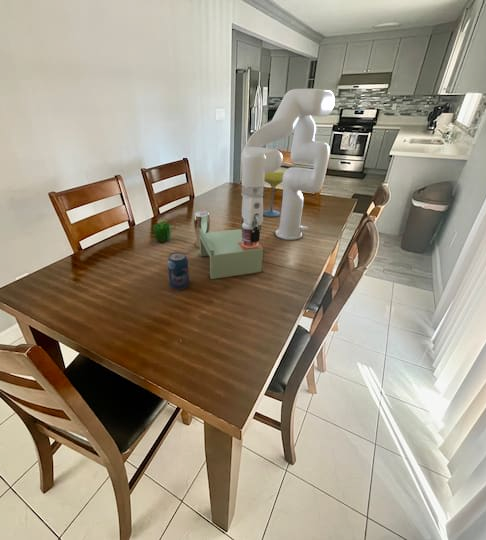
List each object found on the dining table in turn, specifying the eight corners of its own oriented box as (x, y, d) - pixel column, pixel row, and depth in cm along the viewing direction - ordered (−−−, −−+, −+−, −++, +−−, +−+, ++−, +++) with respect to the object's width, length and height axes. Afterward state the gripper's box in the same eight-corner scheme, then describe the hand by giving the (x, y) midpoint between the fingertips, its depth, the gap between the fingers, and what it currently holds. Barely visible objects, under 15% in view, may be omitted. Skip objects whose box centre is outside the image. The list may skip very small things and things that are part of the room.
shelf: (244, 249, 130) (245, 224, 124) (261, 271, 114) (263, 243, 108) (200, 254, 126) (199, 229, 120) (211, 279, 109) (210, 250, 103)
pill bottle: (255, 249, 108) (257, 220, 102) (239, 247, 110) (240, 218, 104) (259, 242, 113) (261, 214, 107) (243, 240, 114) (245, 212, 109)
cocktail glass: (291, 211, 172) (297, 167, 159) (279, 221, 158) (285, 174, 146) (263, 206, 180) (266, 163, 167) (249, 215, 167) (252, 169, 154)
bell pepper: (150, 242, 137) (147, 221, 132) (161, 235, 144) (158, 216, 139) (164, 245, 134) (162, 225, 129) (175, 238, 140) (173, 219, 135)
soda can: (174, 292, 102) (171, 262, 96) (167, 283, 107) (164, 254, 101) (192, 287, 105) (190, 258, 99) (184, 278, 110) (182, 249, 104)
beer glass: (208, 249, 131) (207, 217, 123) (193, 247, 132) (191, 216, 124) (211, 242, 137) (211, 211, 129) (197, 241, 138) (195, 210, 130)
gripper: (273, 196, 94) (268, 244, 103) (253, 183, 108) (251, 226, 117) (251, 198, 92) (248, 247, 101) (234, 184, 107) (233, 228, 116)
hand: (249, 236), depth 109 cm, fingers open, 9 cm apart
